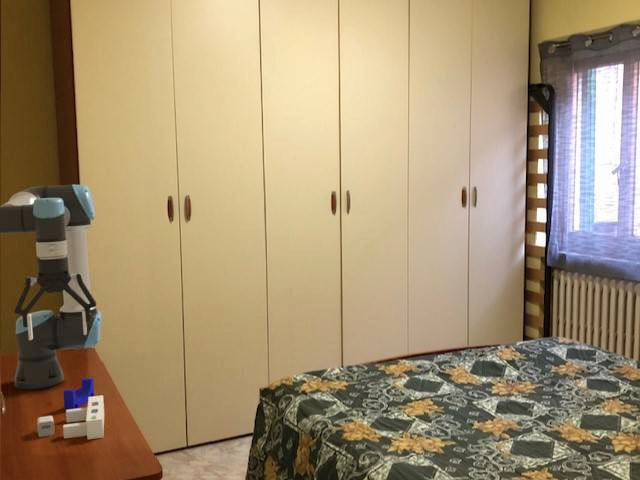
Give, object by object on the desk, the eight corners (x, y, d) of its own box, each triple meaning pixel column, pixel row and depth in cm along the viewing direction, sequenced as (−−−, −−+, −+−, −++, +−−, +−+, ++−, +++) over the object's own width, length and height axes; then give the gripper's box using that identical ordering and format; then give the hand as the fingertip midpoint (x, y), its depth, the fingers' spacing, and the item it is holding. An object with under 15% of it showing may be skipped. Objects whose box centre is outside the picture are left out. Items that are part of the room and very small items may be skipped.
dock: (67, 416, 204) (66, 398, 204) (104, 411, 207) (103, 394, 206) (63, 442, 185) (61, 423, 184) (103, 437, 188) (102, 418, 187)
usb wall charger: (38, 437, 189) (37, 423, 189) (37, 428, 196) (36, 414, 195) (54, 434, 191) (53, 420, 190) (53, 426, 197) (52, 412, 197)
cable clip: (81, 396, 221) (79, 378, 221) (94, 397, 221) (93, 378, 220) (60, 410, 210) (58, 390, 209) (74, 411, 209) (72, 391, 208)
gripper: (-2, 262, 180) (5, 344, 182) (102, 255, 187) (107, 334, 190) (2, 258, 187) (9, 337, 190) (101, 252, 194) (107, 328, 197)
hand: (58, 336), depth 190 cm, fingers open, 13 cm apart
